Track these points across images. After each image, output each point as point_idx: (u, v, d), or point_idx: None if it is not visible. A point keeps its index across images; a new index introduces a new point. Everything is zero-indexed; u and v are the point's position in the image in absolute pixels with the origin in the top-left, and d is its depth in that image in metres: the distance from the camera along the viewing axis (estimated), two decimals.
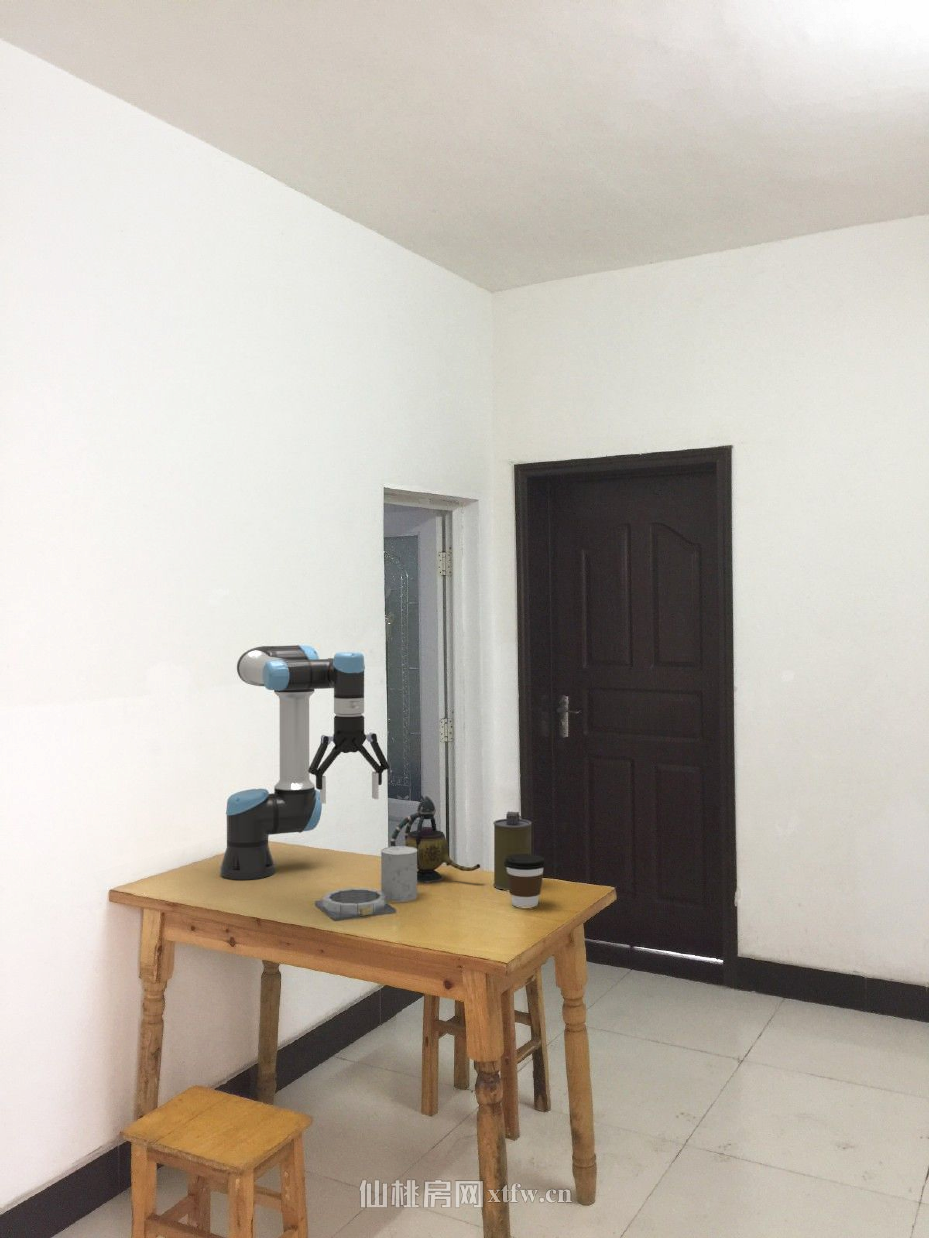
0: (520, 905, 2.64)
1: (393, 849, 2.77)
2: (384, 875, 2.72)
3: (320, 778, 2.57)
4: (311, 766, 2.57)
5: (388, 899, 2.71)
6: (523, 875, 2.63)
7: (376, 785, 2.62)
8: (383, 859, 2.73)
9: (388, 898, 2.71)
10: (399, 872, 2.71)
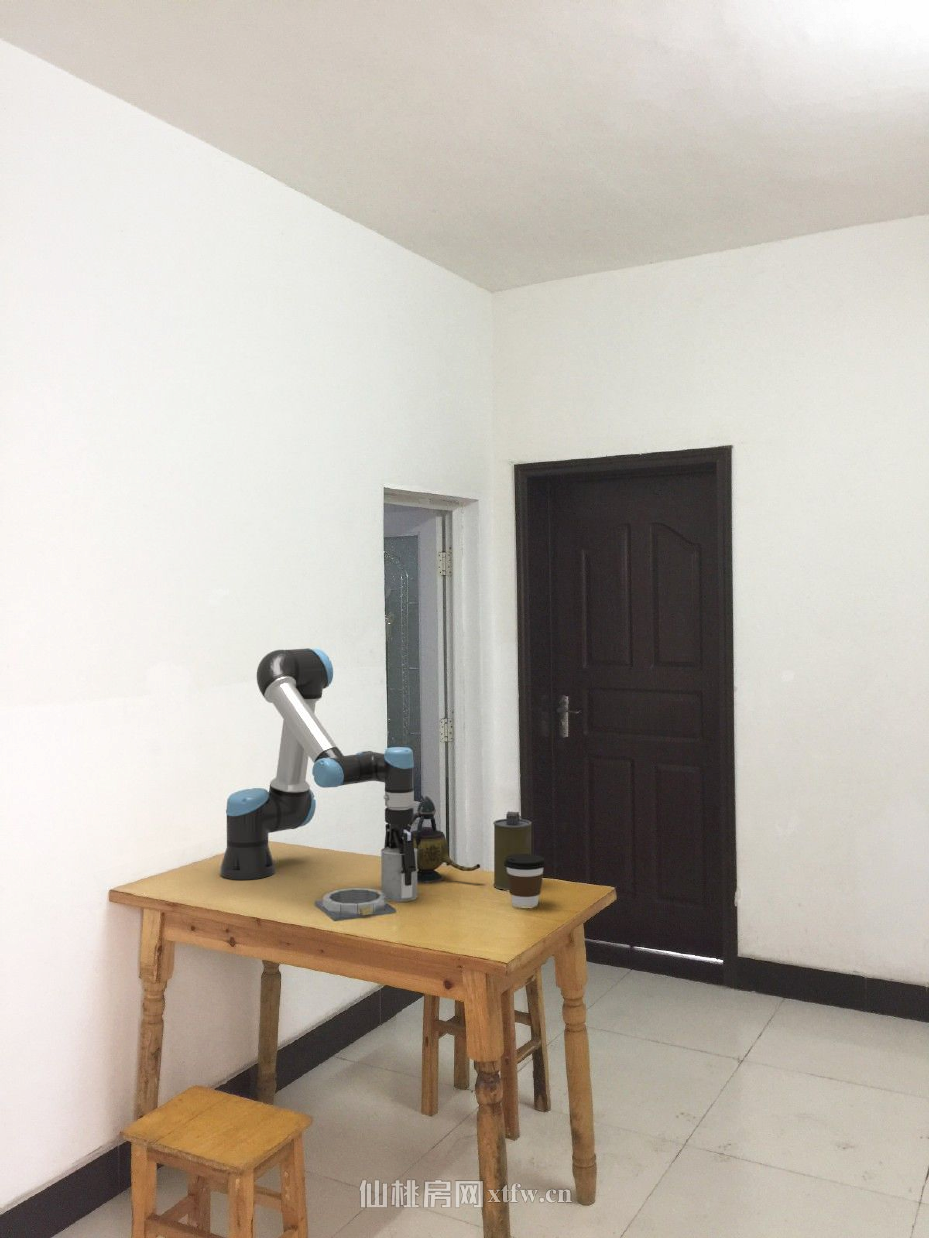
0: (520, 905, 2.64)
1: (393, 849, 2.77)
2: (384, 875, 2.72)
3: None
4: None
5: (388, 899, 2.71)
6: (523, 875, 2.63)
7: (401, 884, 2.70)
8: (383, 859, 2.73)
9: (388, 898, 2.71)
10: (399, 872, 2.71)
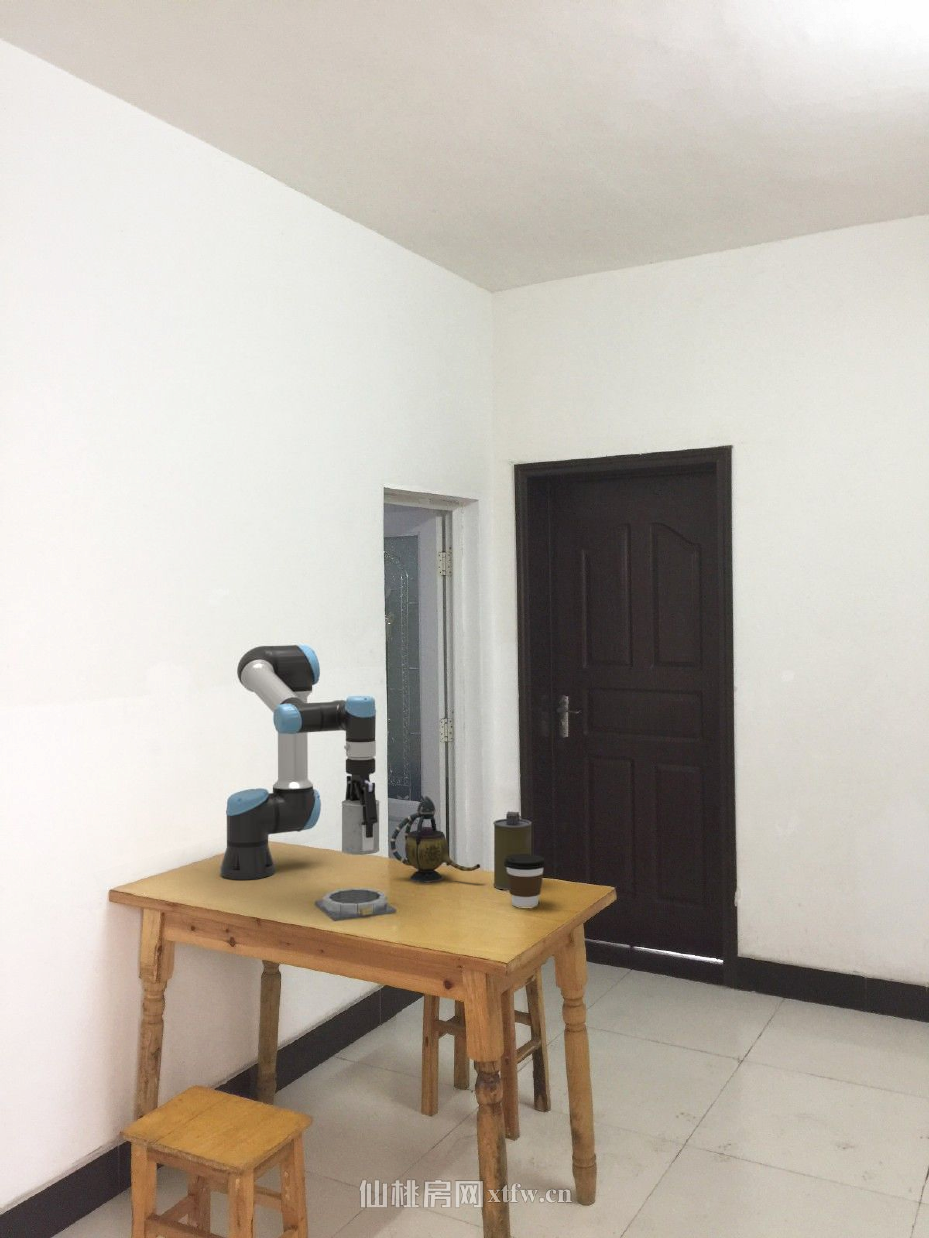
0: (520, 905, 2.64)
1: (354, 801, 2.68)
2: (345, 827, 2.63)
3: None
4: None
5: (349, 852, 2.62)
6: (523, 875, 2.63)
7: (362, 836, 2.61)
8: (344, 811, 2.63)
9: (349, 851, 2.62)
10: (360, 824, 2.61)
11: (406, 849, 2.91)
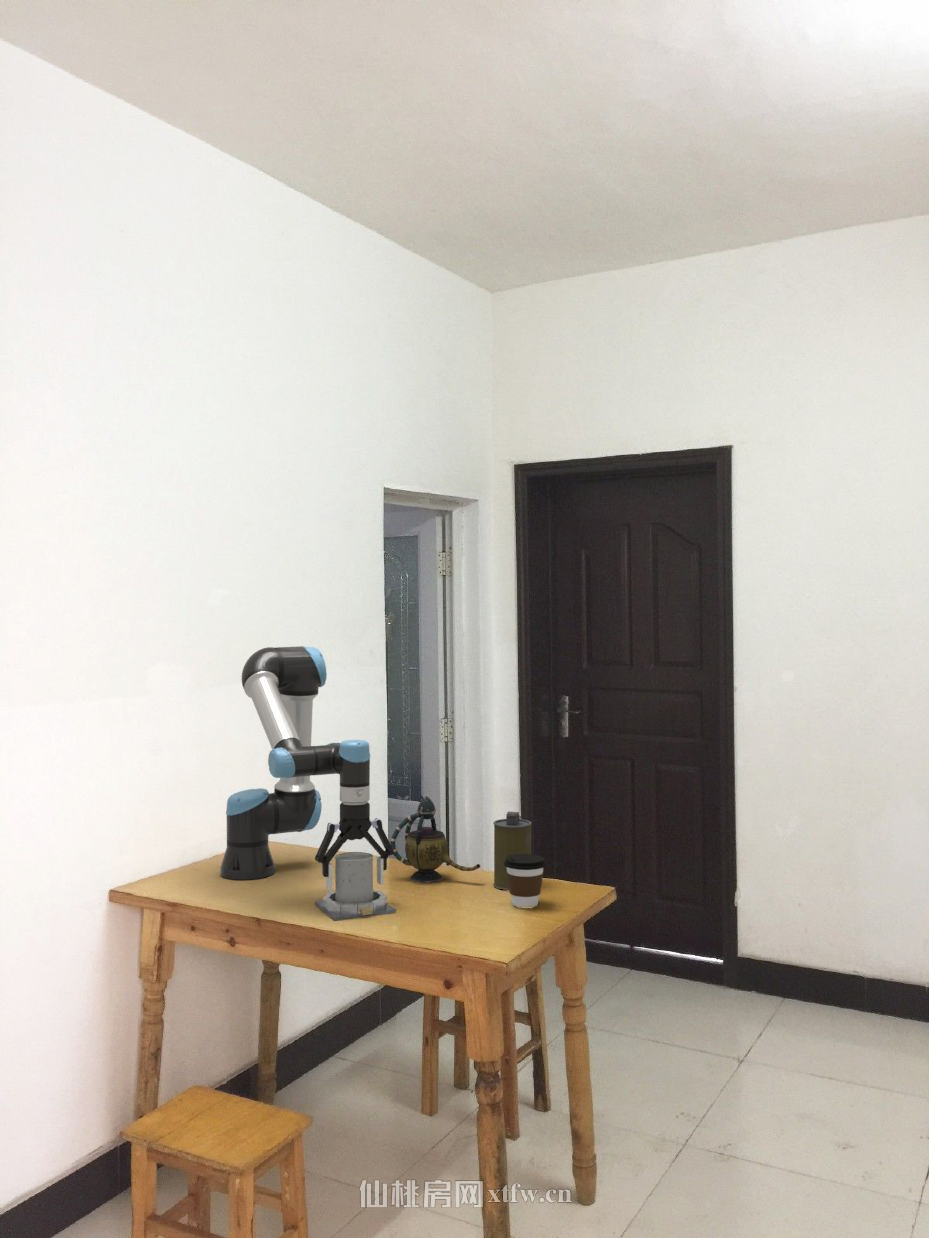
0: (520, 905, 2.64)
1: (346, 858, 2.63)
2: (363, 883, 2.61)
3: (326, 866, 2.61)
4: (318, 854, 2.61)
5: None
6: (523, 875, 2.63)
7: (381, 871, 2.66)
8: (362, 867, 2.61)
9: None
10: (372, 874, 2.65)
11: (406, 849, 2.91)
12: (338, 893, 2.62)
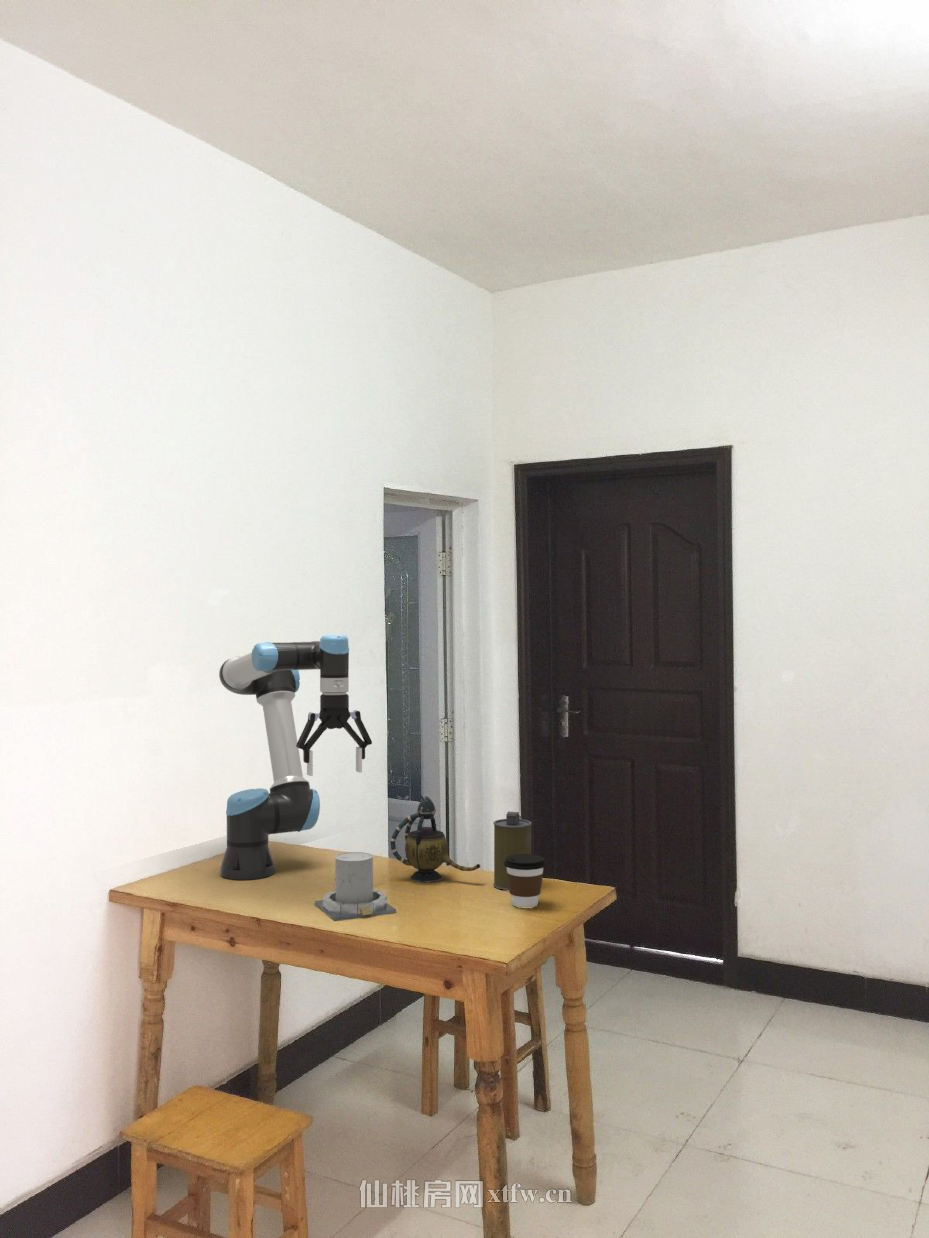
0: (520, 905, 2.64)
1: (346, 858, 2.63)
2: (363, 883, 2.61)
3: (307, 752, 2.75)
4: (299, 741, 2.75)
5: None
6: (523, 875, 2.63)
7: (360, 759, 2.81)
8: (362, 867, 2.61)
9: None
10: (372, 874, 2.65)
11: (406, 849, 2.91)
12: (338, 893, 2.62)
